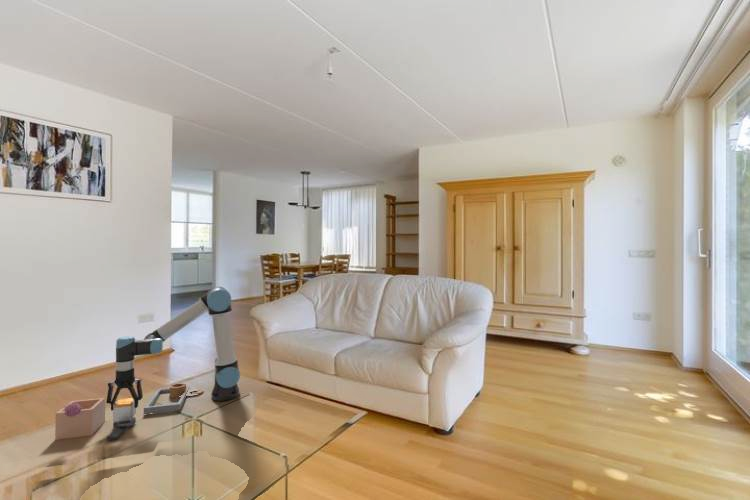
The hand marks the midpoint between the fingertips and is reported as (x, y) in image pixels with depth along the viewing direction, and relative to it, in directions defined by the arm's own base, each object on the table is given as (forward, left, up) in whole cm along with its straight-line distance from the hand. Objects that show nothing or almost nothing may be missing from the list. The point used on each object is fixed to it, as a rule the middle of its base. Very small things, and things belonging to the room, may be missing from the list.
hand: (124, 415), depth 173 cm
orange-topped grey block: (0, 0, -1) cm, 1 cm away
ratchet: (0, 0, -5) cm, 5 cm away
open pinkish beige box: (+18, -1, -5) cm, 19 cm away
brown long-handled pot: (-22, -30, -5) cm, 37 cm away
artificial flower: (+20, -6, 0) cm, 20 cm away
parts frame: (-14, -23, -5) cm, 27 cm away
